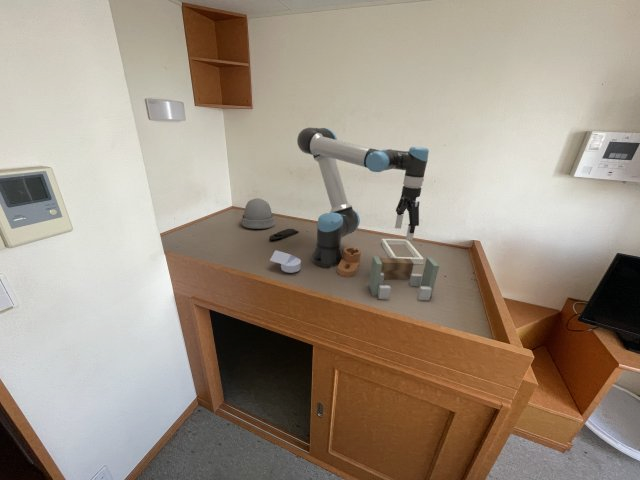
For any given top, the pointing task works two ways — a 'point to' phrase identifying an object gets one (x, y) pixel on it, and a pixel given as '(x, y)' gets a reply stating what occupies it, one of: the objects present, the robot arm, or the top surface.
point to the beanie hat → (257, 215)
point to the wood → (283, 234)
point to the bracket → (349, 262)
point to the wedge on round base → (286, 261)
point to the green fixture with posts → (415, 280)
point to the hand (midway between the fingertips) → (403, 233)
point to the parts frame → (417, 257)
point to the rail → (396, 268)
